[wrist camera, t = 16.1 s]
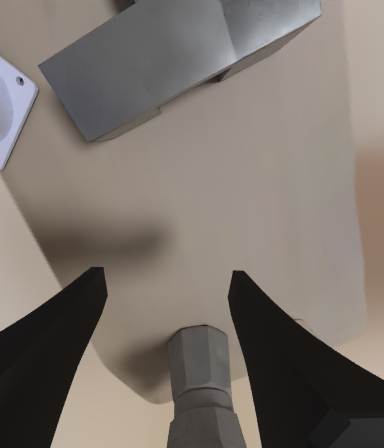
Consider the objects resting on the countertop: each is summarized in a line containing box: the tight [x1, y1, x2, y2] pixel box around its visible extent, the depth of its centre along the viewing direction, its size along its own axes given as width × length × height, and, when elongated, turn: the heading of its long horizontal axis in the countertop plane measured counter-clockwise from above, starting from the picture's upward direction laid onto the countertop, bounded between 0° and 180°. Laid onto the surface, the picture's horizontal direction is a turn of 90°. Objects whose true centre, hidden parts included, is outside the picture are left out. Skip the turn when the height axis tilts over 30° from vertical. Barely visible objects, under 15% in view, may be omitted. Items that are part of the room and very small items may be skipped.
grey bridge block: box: [38, 0, 322, 142], centre depth 12 cm, size 4×14×5 cm, turn 115°
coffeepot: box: [167, 325, 247, 448], centre depth 21 cm, size 15×9×18 cm, turn 166°
